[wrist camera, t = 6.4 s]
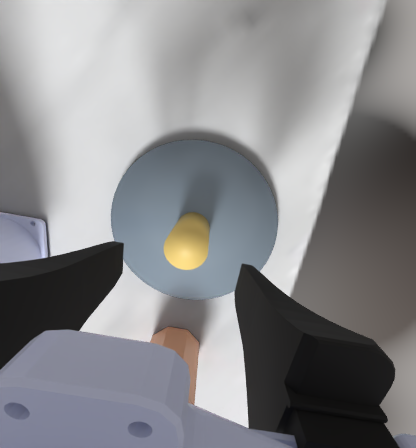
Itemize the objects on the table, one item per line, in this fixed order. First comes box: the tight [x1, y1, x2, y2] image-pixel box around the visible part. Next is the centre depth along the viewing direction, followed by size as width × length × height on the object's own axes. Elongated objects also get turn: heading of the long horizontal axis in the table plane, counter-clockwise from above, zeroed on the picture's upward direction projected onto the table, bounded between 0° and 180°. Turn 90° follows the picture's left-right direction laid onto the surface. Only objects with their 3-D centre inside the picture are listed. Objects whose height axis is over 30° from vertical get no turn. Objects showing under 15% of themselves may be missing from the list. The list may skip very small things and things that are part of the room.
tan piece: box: [150, 327, 199, 405], centre depth 21 cm, size 6×6×7 cm
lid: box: [111, 140, 278, 300], centre depth 19 cm, size 16×16×1 cm
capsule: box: [164, 212, 210, 270], centre depth 16 cm, size 3×3×5 cm
